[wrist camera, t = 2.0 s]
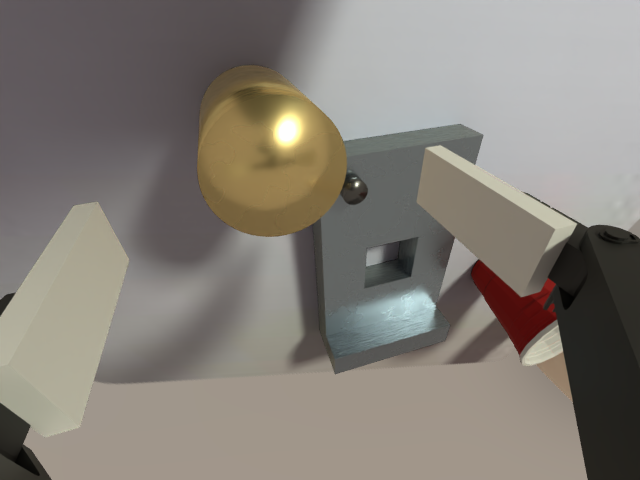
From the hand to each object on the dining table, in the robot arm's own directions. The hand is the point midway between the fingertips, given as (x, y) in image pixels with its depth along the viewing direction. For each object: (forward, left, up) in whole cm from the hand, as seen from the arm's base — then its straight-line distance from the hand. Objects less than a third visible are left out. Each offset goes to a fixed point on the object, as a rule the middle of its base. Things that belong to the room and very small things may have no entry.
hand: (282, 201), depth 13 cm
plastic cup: (+23, +28, -13) cm, 38 cm away
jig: (+15, +11, -12) cm, 22 cm away
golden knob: (0, 0, -12) cm, 12 cm away
